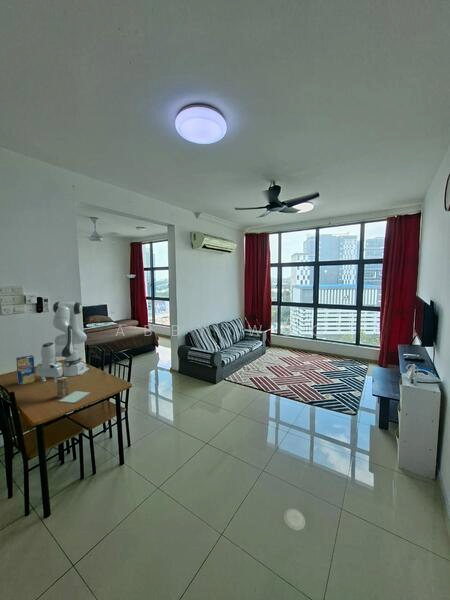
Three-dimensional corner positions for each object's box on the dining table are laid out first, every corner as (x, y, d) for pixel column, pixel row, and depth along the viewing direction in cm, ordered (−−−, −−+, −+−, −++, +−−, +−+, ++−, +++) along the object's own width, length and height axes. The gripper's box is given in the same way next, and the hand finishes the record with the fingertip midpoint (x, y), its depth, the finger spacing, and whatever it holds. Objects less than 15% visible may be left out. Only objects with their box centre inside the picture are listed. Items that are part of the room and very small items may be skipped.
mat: (75, 391, 193) (75, 390, 192) (90, 393, 190) (90, 392, 190) (58, 401, 177) (58, 400, 177) (75, 403, 175) (75, 402, 175)
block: (62, 394, 188) (62, 376, 187) (68, 394, 187) (67, 377, 186) (57, 397, 183) (56, 379, 182) (63, 397, 182) (62, 379, 181)
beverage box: (35, 381, 210) (33, 356, 209) (18, 385, 202) (17, 359, 201) (33, 379, 215) (32, 355, 213) (17, 382, 207) (16, 357, 205)
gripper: (33, 364, 184) (34, 382, 184) (57, 366, 180) (57, 384, 181) (40, 362, 190) (41, 379, 191) (63, 363, 187) (64, 381, 188)
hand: (49, 381), depth 186 cm, fingers open, 8 cm apart
